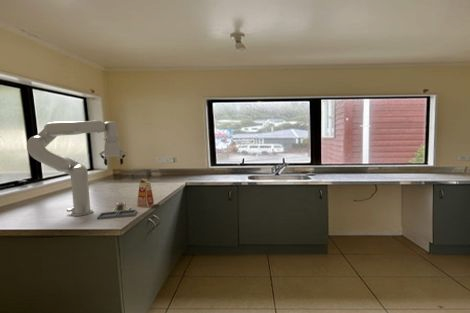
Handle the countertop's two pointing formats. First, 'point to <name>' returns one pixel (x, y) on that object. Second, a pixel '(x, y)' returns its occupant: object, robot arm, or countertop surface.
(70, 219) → the countertop surface
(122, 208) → the letter cube
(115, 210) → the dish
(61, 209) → the countertop surface
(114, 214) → the dish left
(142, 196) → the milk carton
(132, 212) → the dish right
